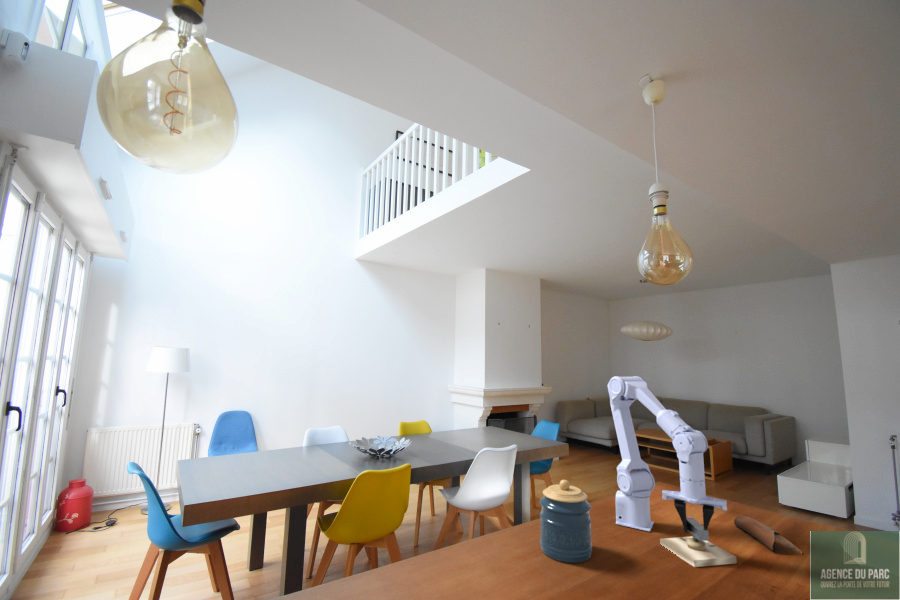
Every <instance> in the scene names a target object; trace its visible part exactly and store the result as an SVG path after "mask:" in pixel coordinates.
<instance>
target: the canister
mask: <svg viewBox="0 0 900 600" xmlns="http://www.w3.org/2000/svg"><path fill="white" fill-rule="evenodd" d="M542 494H543V496H541V498H540V499H539V504H540V505H541V511H540V512H539V517H540V536H539V539H540V541H539V542H540V543H539V544H540V546H541V547H540V548H541V552H542V553H543V554H545V555H546V556H547V557H549V558H550V559H553V560H556V561H558V562H564V563H568V564H569V563H572V564H576V563H583V562H586V561H588V560H590V559H591V558H592V553H593V544H592V525H591V524H592V518H591V517H590V511H591V509H592V506H591V504H590V503H589V501H587V500H588V495H587V493H585V492H584V491H582V489H580V488H579V487H577V486H574V485H571V484H570V482H569V481H568V480H567V479H561V480H560V481H559V484H557V483H556V484H552V485H549V486H548V487H546V488H544V489H543V490H542Z"/></svg>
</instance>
